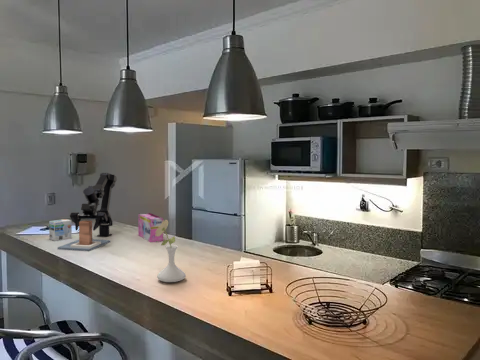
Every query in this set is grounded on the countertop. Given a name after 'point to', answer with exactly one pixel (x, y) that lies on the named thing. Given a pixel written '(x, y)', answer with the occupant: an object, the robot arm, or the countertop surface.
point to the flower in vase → (171, 270)
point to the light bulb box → (60, 229)
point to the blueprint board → (78, 247)
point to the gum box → (149, 227)
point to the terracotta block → (85, 233)
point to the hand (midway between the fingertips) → (84, 230)
